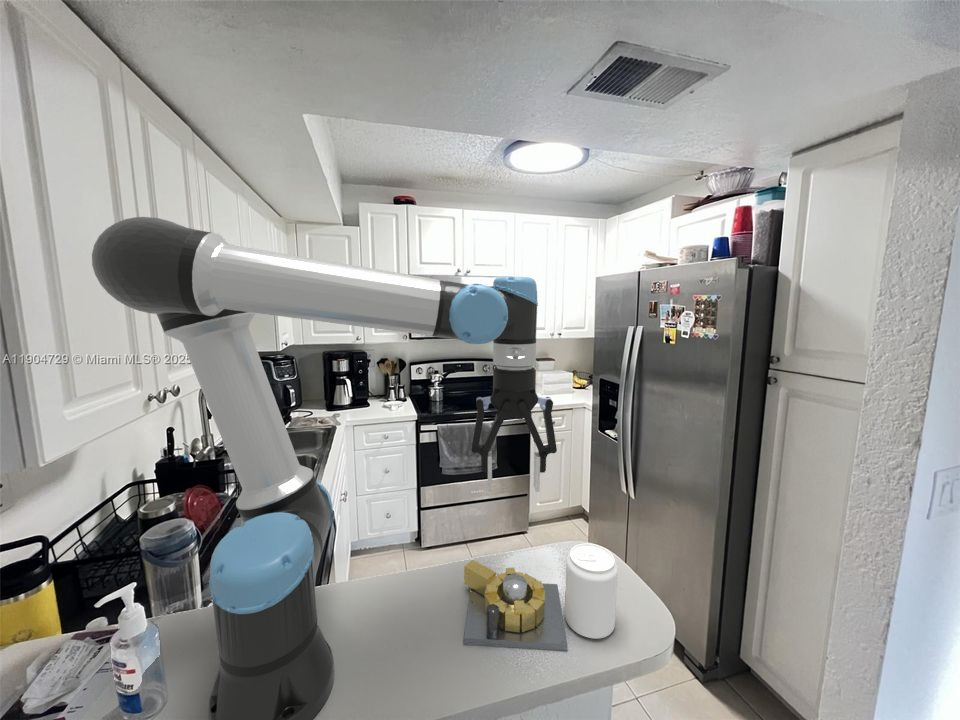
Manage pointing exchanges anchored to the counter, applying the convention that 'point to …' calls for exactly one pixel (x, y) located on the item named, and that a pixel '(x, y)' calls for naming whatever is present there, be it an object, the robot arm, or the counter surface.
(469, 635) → the plate
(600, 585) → the beverage can
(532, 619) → the segmented ring with handle
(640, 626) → the counter surface
